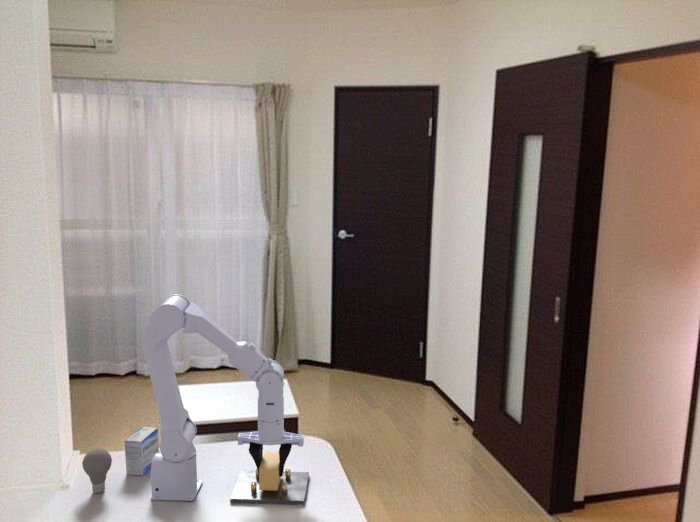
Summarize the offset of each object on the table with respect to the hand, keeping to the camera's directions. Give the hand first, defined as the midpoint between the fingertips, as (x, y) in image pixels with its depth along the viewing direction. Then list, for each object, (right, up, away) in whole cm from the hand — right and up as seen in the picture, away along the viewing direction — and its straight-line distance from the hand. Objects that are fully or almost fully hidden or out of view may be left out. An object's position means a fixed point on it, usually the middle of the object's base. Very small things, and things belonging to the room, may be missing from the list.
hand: (271, 473), depth 140 cm
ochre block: (0, -2, 0) cm, 2 cm away
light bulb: (-38, -4, -1) cm, 38 cm away
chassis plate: (0, -4, +1) cm, 4 cm away
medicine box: (-32, -2, +9) cm, 33 cm away
